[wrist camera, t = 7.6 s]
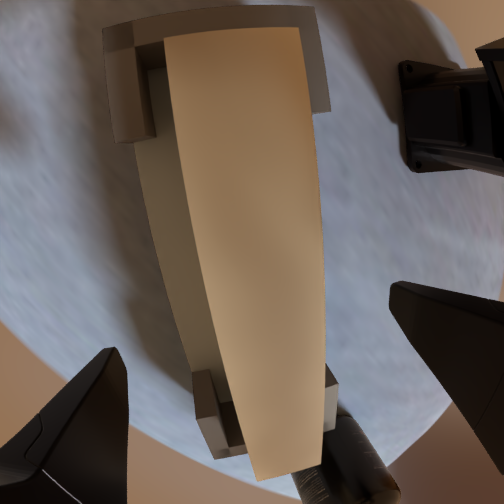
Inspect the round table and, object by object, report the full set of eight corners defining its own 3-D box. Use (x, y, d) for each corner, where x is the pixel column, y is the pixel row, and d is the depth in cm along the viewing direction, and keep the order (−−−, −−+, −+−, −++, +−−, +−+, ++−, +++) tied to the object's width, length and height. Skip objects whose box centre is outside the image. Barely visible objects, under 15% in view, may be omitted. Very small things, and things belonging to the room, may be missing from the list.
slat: (245, 77, 12) (298, 27, 6) (282, 377, 17) (320, 463, 11) (174, 87, 11) (163, 38, 5) (233, 389, 17) (256, 481, 11)
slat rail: (276, 31, 12) (311, -5, 8) (309, 385, 20) (334, 433, 15) (125, 51, 11) (101, 16, 7) (207, 409, 19) (216, 463, 14)
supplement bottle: (305, 465, 24) (349, 566, 13) (266, 444, 21) (311, 572, 10) (367, 428, 24) (427, 525, 13) (339, 400, 21) (413, 525, 10)
